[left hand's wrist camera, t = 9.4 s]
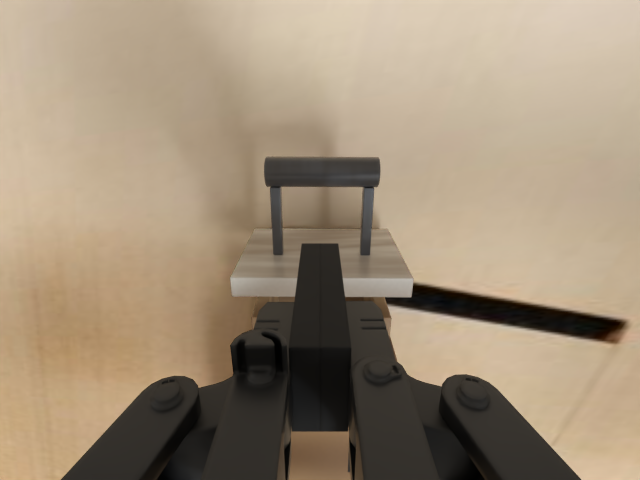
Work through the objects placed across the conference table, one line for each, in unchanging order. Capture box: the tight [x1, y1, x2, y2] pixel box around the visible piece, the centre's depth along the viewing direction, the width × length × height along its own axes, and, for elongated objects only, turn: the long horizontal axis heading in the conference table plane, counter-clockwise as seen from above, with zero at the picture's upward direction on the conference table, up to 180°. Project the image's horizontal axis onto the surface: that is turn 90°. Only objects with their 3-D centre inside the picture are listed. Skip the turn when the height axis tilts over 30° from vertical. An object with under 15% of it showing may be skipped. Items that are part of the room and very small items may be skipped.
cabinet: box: [289, 338, 397, 480], centre depth 30 cm, size 21×11×10 cm, turn 0°
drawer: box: [230, 157, 413, 338], centre depth 25 cm, size 25×10×8 cm, turn 0°
